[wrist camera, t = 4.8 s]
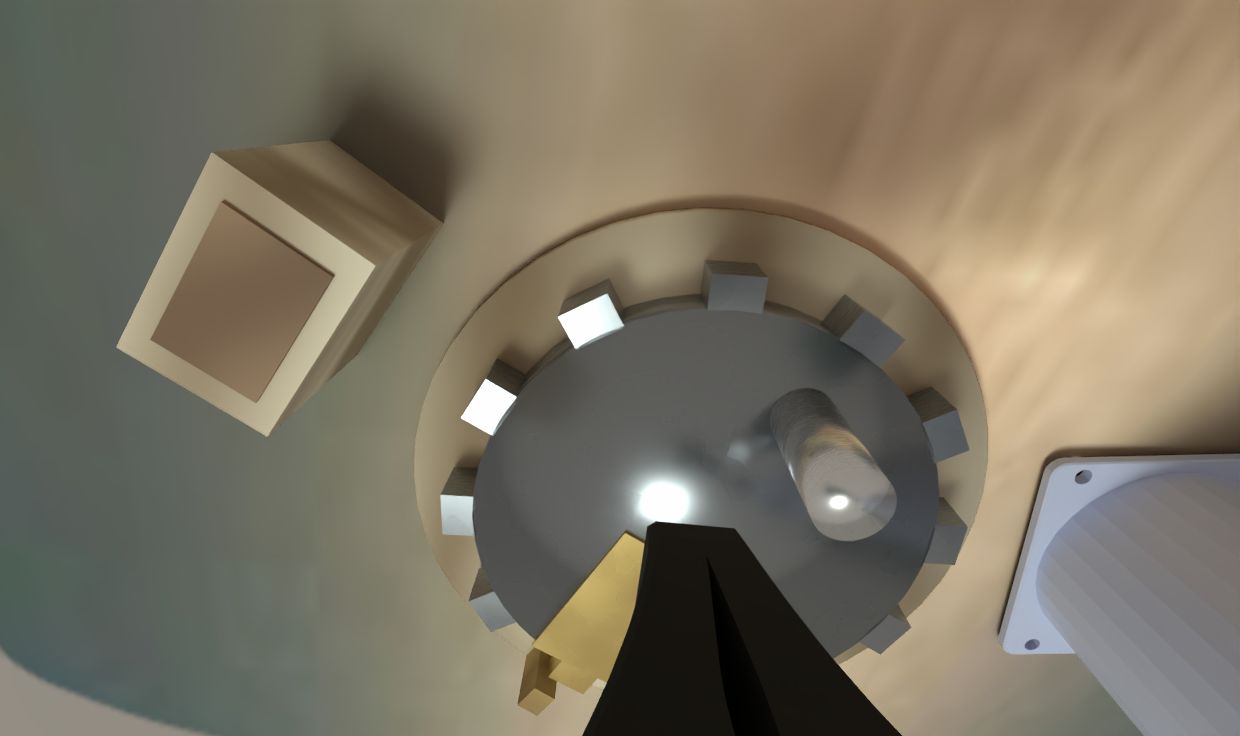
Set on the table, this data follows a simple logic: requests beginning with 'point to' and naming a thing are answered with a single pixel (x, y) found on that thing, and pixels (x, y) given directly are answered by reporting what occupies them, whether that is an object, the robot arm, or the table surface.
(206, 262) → the link block
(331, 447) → the table surface
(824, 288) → the sprocket base
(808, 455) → the sprocket
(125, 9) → the table surface
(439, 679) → the table surface
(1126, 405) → the table surface
